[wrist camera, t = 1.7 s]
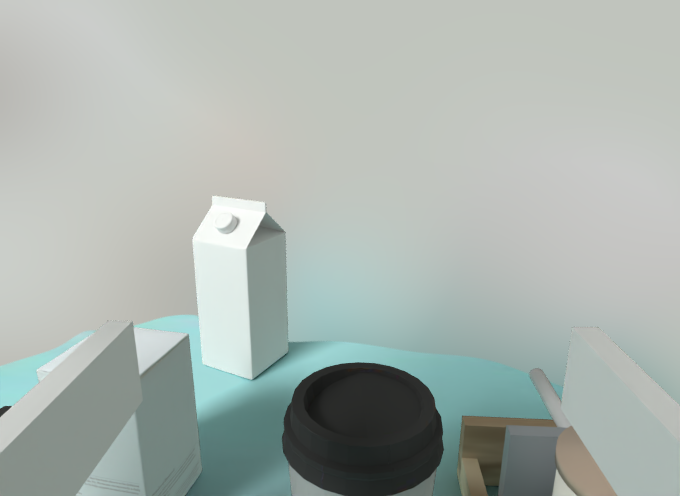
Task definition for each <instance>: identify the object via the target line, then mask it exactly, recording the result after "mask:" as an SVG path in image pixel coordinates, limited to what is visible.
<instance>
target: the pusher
mask: <svg viewBox="0 0 680 496" xmlns="http://www.w3.org/2000/svg"><path fill="white" fill-rule="evenodd" d="M529 377H530V379H531V381H532V382H533V384H534V386H535V388H536V390H537V391H538V393H539V395H540V397H541V399H542V401H543V402H544V404H545V406H546V408H547V410H548V411H549V413H550V415H551V417H552V419H553V420H554V422H555V424H556V426H557V427H540V426H518V425H506V433H505V441H504V449H503V457H502V466H501V474H500V482H499V490H498V496H552V493H553V487H554V481H555V475H556V469H557V468H556V464H555V451H556V445H557V440H558V437H559V435H560V434H561V433H562V432H563V431H564V430H565V429H566V428H568V427H570V426H572V425H571V424H570V422H569V420H568V419H567V417H566V416H565V414H564V413H563V411H562V410H561V400H560V398H559V397H558V395H557V393H556V392H555V390H554V389H553V387H552V385H551V384H550V382H549V380H548V379H547V377H546V376H545V374H544V372H543V371H542V370H541V369H539V368H535V369H533V370H531V371H530V373H529Z"/></svg>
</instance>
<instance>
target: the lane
mask: <svg viewBox="0 0 680 496" xmlns="http://www.w3.org/2000/svg"><path fill="white" fill-rule="evenodd" d="M506 425H518V426H540V427H557V426H556V424H555V422H554V420H547V419H524V418H501V417H478V416H462V424H461V434H460V445H459V456H458V467H457V476H458V480H459V485H460V489H461V494H462V496H488V494H487V491H486V487H485V485H490V486H499V482H500V474H501V466H502V457H503V449H504V441H505V433H506Z"/></svg>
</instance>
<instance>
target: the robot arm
mask: <svg viewBox="0 0 680 496" xmlns="http://www.w3.org/2000/svg"><path fill="white" fill-rule="evenodd" d="M142 401H143V397H142V389H141V382H140V374H139V366H138V358H137V351H136V343H135V335H134V327H133V321H107V322H106V323H105V324H103V325H102V326H101V327H100V328H99V329H98V330H97V331H96V332H95V333H93V334H92V335H91V336H90V337H89V338H88V339H87V340H86V341H85V342H83V343H82V344H81V345H80V346H79V347H78V348H77V349H76V350H75V351H73V352H72V353H71V354H70V355H69V356H68V357H67V358H66V359H65V360H63V361H62V362H61V363H60V364H59V365H58V366H57V367H56V368H54V369H53V370H52V371H51V372H50V373H49V374H48V375H47V376H46V377H44V378H43V379H42V380H41V381H40V382H39V383H38V384H37V385H36V386H34V387H33V388H32V389H31V390H30V391H29V392H28V393H27V394H26V395H24V396H23V397H22V398H21V399H20V400H19V401H18V402H17V403H16V404H14V405H13V406H4V407H2V408H1V409H0V496H76V494H77V493H78V492H79V490H80V489H81V487H82V486H83V484H84V483H85V482H86V480H87V479H88V477H89V476H90V475H91V473H92V472H93V470H94V469H95V467H96V466H97V465H98V463H99V462H100V460H101V459H102V458H103V456H104V455H105V453H106V452H107V450H108V449H109V448H110V446H111V445H112V443H113V442H114V441H115V439H116V438H117V436H118V435H119V433H120V432H121V431H122V429H123V428H124V426H125V425H126V424H127V422H128V421H129V419H130V418H131V416H132V415H133V414H134V412H135V411H136V409H137V408H138V407H139V405H140V404H141V402H142ZM561 410H562V411H563V413H564V414H565V416H566V417H567V419H568V420H569V422H570V424H571V425H572V427H573V428H574V430H575V431H576V433H577V434H578V436H579V437H580V439H581V440H582V442H583V444H584V445H585V447H586V448H587V450H588V451H589V453H590V454H591V456H592V457H593V459H594V460H595V462H596V463H597V465H598V467H599V468H600V470H601V471H602V473H603V474H604V476H605V477H606V479H607V480H608V482H609V483H610V485H611V487H612V488H613V490H614V491H615V493H616V494H617V496H680V405H679V404H678V403H677V402H676V401H675V400H674V399H673V398H672V397H671V396H670V395H669V394H668V393H666V392H665V391H664V390H663V389H662V388H661V387H660V386H659V385H658V384H657V383H656V382H655V381H654V380H653V379H652V378H651V377H650V376H649V375H648V374H647V373H646V372H645V371H643V370H642V369H641V368H640V367H639V366H638V365H637V364H636V363H635V362H634V361H633V360H632V359H631V358H630V357H629V356H628V355H627V354H626V353H625V352H624V351H623V350H622V349H621V348H620V347H618V346H617V345H616V344H615V343H614V342H613V341H612V340H611V339H610V338H609V337H608V336H607V335H606V334H605V333H604V332H603V331H602V330H601V329H600V328H598V327H572V331H571V339H570V345H569V352H568V359H567V366H566V373H565V380H564V387H563V394H562V401H561Z"/></svg>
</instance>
